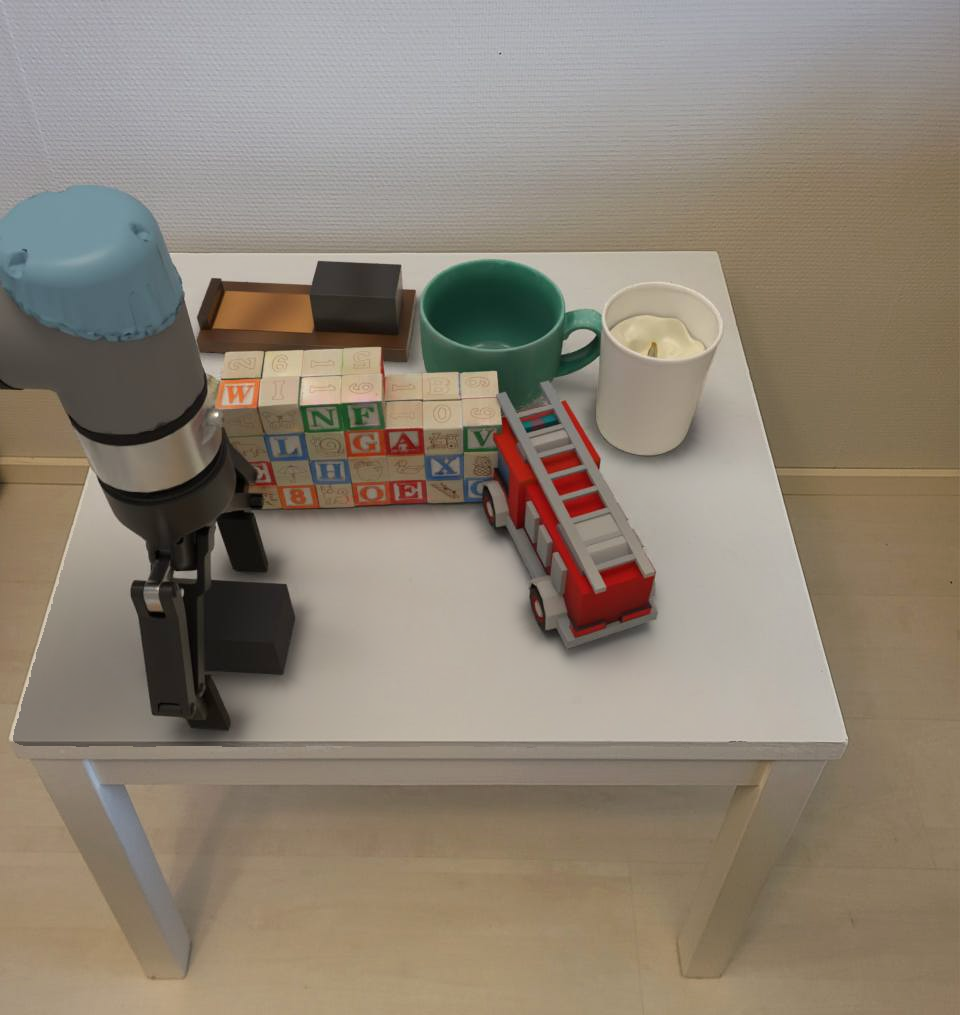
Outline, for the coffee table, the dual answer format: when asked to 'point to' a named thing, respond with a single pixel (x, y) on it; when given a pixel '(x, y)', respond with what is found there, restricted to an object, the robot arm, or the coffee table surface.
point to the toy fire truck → (567, 525)
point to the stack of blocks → (358, 428)
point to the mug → (502, 326)
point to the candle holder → (653, 364)
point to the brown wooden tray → (312, 312)
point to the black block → (247, 626)
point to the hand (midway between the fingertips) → (232, 640)
